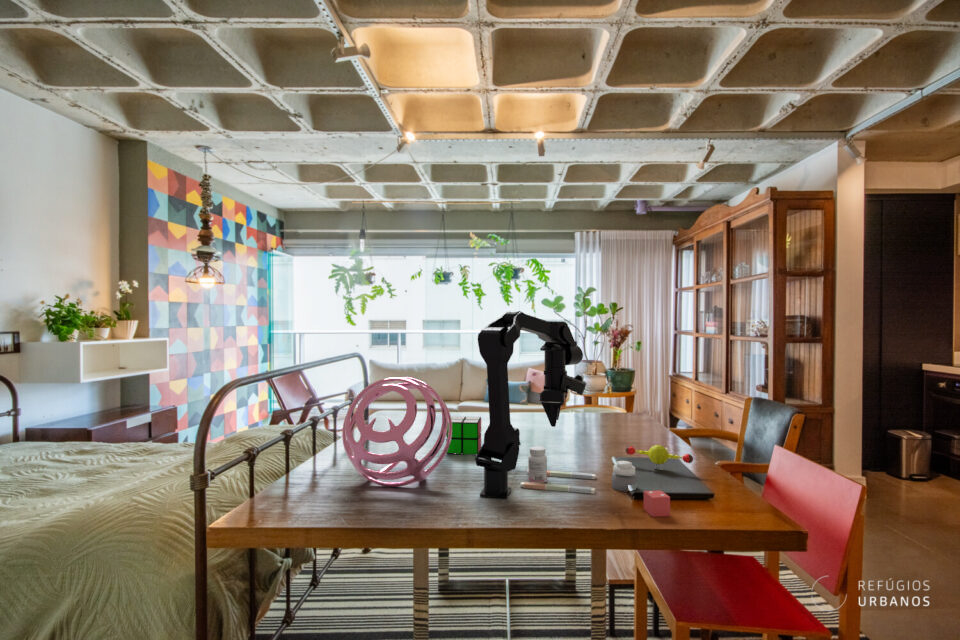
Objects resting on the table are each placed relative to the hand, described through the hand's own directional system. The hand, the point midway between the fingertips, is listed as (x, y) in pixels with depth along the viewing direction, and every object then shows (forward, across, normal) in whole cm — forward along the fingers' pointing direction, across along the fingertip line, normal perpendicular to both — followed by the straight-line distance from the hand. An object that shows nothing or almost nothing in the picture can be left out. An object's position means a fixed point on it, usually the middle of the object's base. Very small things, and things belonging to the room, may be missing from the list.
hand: (554, 423), depth 135 cm
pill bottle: (+13, -10, +4) cm, 17 cm away
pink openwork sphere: (+13, -20, +39) cm, 46 cm away
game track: (+13, -10, -7) cm, 18 cm away
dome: (+9, -10, -18) cm, 23 cm away
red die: (+13, -25, -24) cm, 37 cm away
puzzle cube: (+13, +14, +30) cm, 36 cm away
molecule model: (+13, +8, -28) cm, 32 cm away
